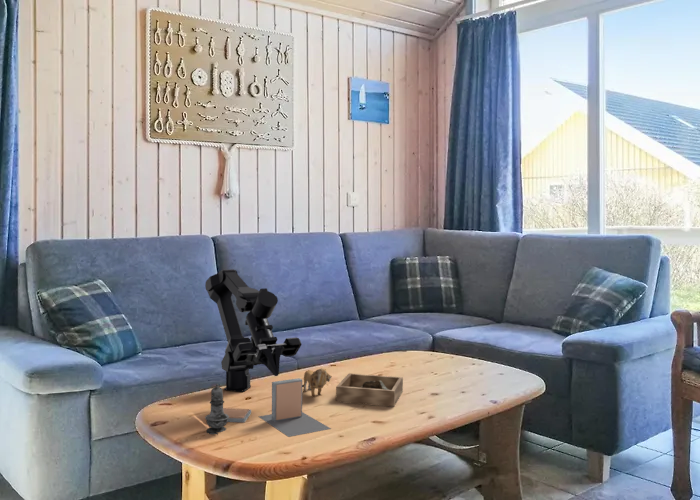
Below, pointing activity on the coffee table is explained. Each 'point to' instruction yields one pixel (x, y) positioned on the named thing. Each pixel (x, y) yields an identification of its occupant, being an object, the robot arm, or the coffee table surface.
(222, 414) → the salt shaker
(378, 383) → the rock sample
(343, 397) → the box
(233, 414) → the tile
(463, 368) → the coffee table surface
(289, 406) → the tile
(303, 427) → the mat
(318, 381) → the lion figurine
